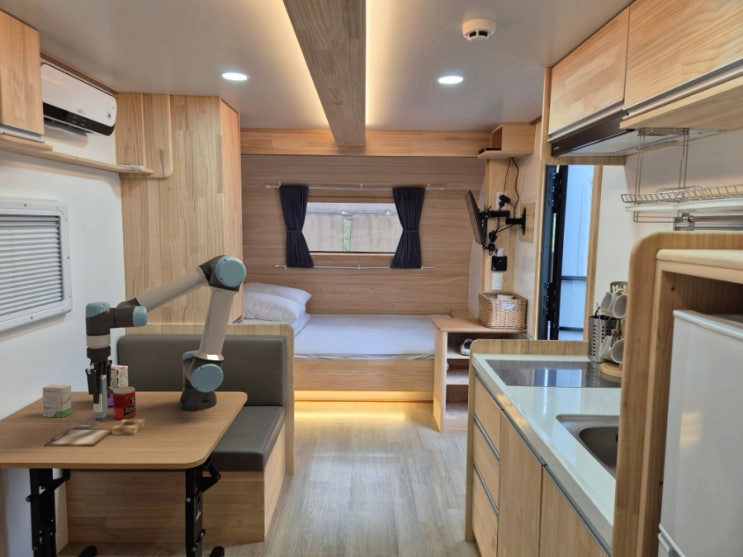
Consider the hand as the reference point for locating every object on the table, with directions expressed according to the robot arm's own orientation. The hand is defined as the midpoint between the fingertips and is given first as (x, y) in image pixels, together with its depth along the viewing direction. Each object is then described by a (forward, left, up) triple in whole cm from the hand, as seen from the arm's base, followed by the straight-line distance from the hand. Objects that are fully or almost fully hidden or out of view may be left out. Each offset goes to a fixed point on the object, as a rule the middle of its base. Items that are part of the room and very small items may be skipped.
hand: (100, 410), depth 170 cm
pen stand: (-8, -3, -9) cm, 12 cm away
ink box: (+27, -17, -9) cm, 33 cm away
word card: (+10, -6, -9) cm, 14 cm away
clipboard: (+5, +4, -9) cm, 11 cm away
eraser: (0, 0, -4) cm, 4 cm away
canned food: (0, -16, -9) cm, 18 cm away
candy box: (+13, -30, -9) cm, 34 cm away
